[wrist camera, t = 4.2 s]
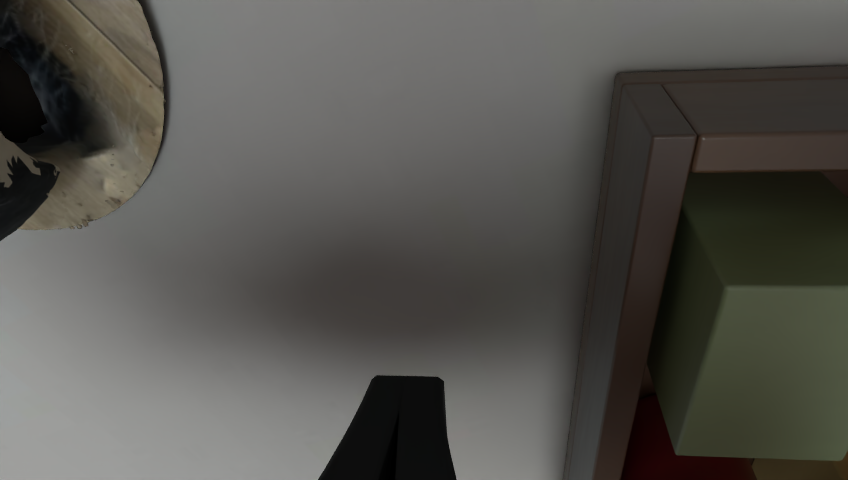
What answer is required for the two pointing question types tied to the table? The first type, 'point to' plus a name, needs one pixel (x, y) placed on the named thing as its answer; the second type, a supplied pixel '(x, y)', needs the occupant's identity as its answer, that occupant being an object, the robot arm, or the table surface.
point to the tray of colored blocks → (718, 281)
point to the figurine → (80, 111)
